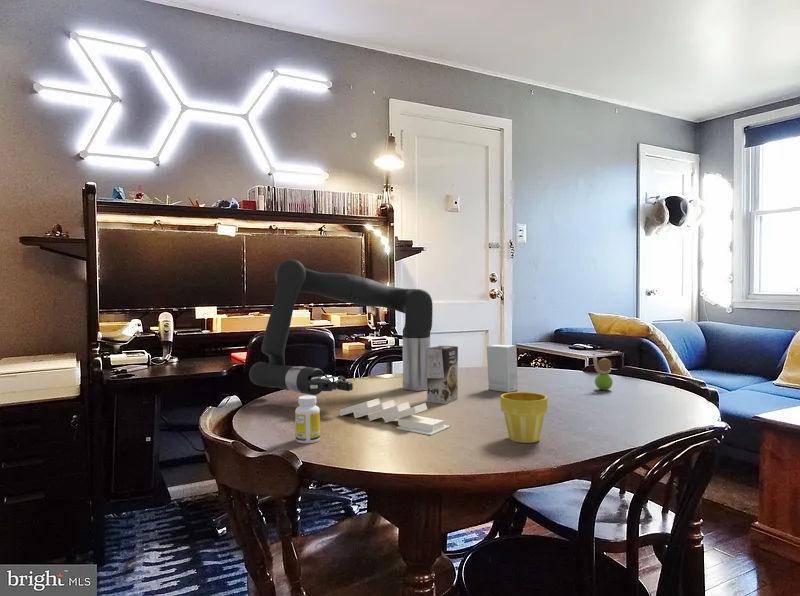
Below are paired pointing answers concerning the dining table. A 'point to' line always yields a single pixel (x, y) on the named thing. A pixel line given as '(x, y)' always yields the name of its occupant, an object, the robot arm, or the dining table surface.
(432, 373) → the coffee box
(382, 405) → the domino
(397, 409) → the domino
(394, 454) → the dining table surface
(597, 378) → the snail figurine
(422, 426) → the domino
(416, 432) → the felt pad
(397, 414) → the domino
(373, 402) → the domino
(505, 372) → the skincare box
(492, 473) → the dining table surface
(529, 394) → the plant pot
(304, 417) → the supplement bottle
